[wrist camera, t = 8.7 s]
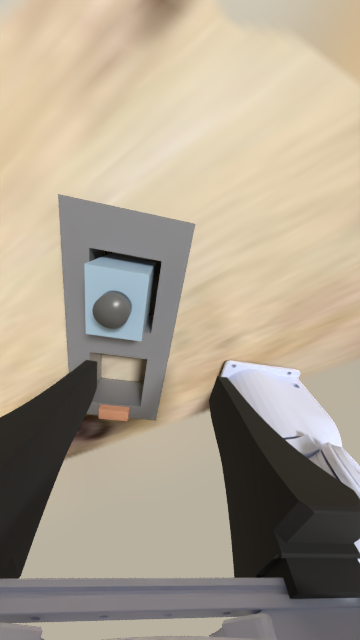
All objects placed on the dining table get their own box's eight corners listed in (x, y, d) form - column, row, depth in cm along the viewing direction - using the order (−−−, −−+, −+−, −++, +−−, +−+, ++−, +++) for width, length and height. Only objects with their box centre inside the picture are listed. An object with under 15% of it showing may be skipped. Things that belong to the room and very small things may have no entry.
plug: (155, 261, 18) (147, 279, 11) (149, 310, 20) (139, 350, 13) (111, 252, 17) (75, 267, 11) (109, 304, 19) (78, 342, 13)
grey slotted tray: (190, 224, 17) (196, 223, 13) (157, 396, 25) (155, 425, 21) (81, 201, 16) (52, 192, 12) (84, 388, 24) (68, 417, 20)
